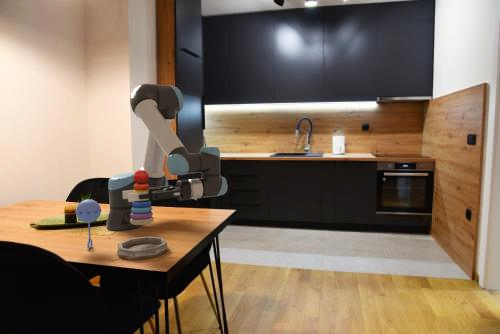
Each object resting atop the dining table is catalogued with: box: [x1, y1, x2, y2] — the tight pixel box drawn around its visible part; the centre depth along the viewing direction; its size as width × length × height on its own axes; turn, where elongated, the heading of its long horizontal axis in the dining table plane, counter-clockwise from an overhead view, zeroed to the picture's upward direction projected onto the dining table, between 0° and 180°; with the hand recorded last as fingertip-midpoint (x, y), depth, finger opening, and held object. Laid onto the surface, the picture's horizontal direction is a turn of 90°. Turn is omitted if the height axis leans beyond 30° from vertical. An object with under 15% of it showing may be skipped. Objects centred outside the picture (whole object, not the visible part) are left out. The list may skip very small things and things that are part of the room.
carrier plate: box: [116, 235, 168, 261], centre depth 131 cm, size 17×17×3 cm
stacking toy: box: [130, 169, 155, 226], centre depth 129 cm, size 8×8×19 cm
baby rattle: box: [75, 198, 102, 250], centre depth 135 cm, size 9×9×18 cm
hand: (125, 196), depth 126 cm, fingers closed on stacking toy, 6 cm apart
